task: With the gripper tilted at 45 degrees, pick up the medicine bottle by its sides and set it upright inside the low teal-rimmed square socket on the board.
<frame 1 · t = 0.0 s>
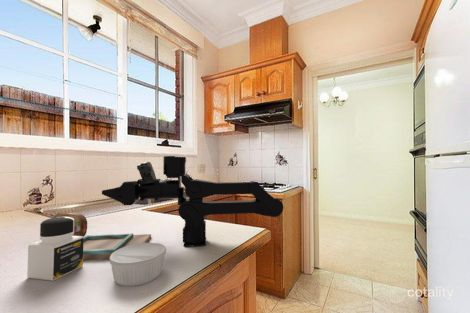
hand: (109, 190, 66), 17 cm above the counter, tool horizontal, fingers open, 9 cm apart
socket board: (108, 248, 64), on the counter
ramekin: (138, 276, 48), on the counter
medicine bottle: (56, 272, 50), on the counter
tin: (69, 239, 73), on the counter
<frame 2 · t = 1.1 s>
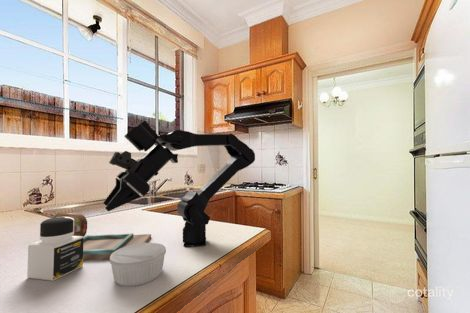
hand: (105, 206, 56), 14 cm above the counter, tool tilted 45°, fingers open, 9 cm apart
nothing on the counter moved.
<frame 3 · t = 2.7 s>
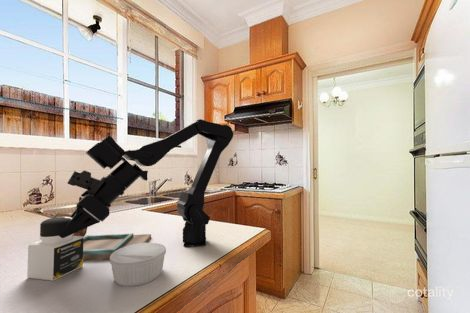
hand: (62, 231, 51), 9 cm above the counter, tool tilted 45°, fingers open, 9 cm apart
nothing on the counter moved.
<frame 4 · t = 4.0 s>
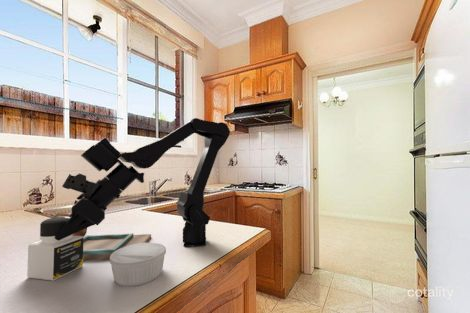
hand: (58, 235, 50), 8 cm above the counter, tool tilted 45°, fingers closed on medicine bottle, 6 cm apart
medicine bottle: (56, 272, 50), on the counter, touching gripper
everything else where it was.
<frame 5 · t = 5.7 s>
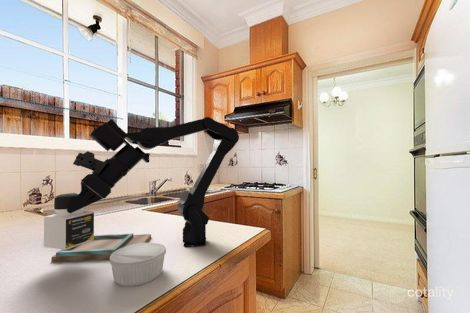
hand: (70, 209, 54), 13 cm above the counter, tool tilted 45°, fingers closed on medicine bottle, 6 cm apart
medicine bottle: (70, 244, 53), point 5 cm above the counter, touching gripper
everything else where it was.
when the fingers open (12 cm above the counter, at t = 7.4 s): medicine bottle drops 2 cm, resting on socket board.
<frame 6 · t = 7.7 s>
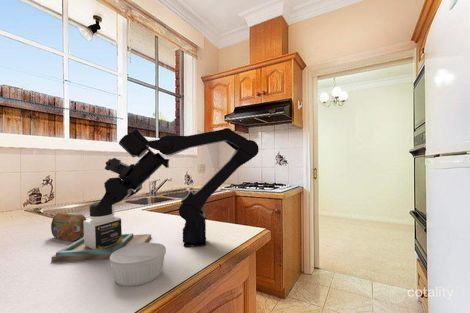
hand: (103, 207, 64), 12 cm above the counter, tool tilted 45°, fingers open, 9 cm apart
medicine bottle: (103, 244, 63), point 1 cm above the counter, touching socket board
everything else where it was.
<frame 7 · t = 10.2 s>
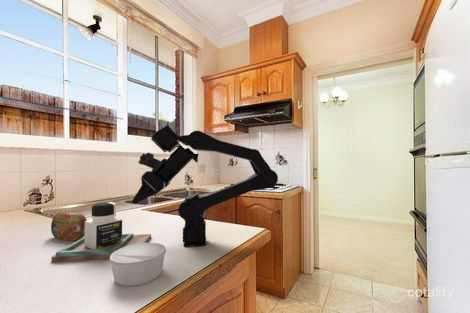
hand: (137, 200, 66), 14 cm above the counter, tool tilted 45°, fingers open, 9 cm apart
nothing on the counter moved.
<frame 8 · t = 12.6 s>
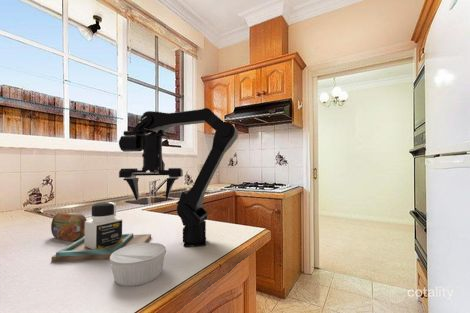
hand: (152, 199, 71), 13 cm above the counter, tool pointing down, fingers open, 9 cm apart
nothing on the counter moved.
at the end: medicine bottle 1.0 cm from the target spot on the socket board, point 1.0 cm above the socket board's base; medicine bottle tilted 0°; the gripper is holding nothing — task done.
